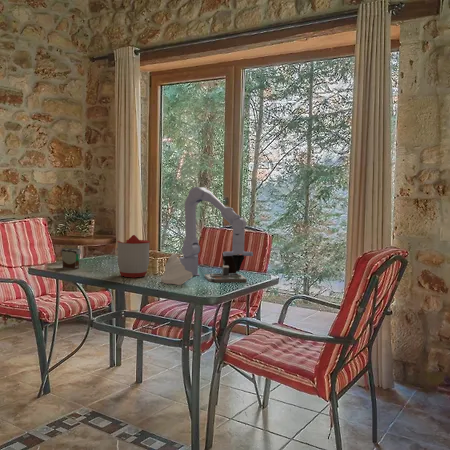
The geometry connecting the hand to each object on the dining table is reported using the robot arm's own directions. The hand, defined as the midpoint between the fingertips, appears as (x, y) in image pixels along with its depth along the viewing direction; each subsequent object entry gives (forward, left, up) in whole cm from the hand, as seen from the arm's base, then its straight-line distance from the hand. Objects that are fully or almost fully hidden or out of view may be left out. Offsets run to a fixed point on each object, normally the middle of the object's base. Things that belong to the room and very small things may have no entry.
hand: (237, 270), depth 244 cm
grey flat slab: (-6, 0, -4) cm, 7 cm away
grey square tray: (-6, 0, -4) cm, 7 cm away
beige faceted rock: (-31, -8, -4) cm, 32 cm away
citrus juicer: (-50, +11, -4) cm, 51 cm away
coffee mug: (+1, +19, -4) cm, 19 cm away
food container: (-79, +37, -4) cm, 87 cm away
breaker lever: (-6, 0, -3) cm, 7 cm away
